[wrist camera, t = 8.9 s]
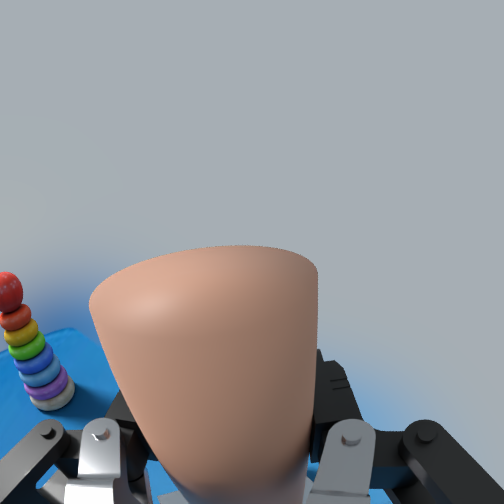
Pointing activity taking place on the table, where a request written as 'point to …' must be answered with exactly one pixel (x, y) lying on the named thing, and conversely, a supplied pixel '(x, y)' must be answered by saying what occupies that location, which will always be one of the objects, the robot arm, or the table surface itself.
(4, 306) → the stacking toy
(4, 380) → the table surface
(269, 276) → the terracotta peg
